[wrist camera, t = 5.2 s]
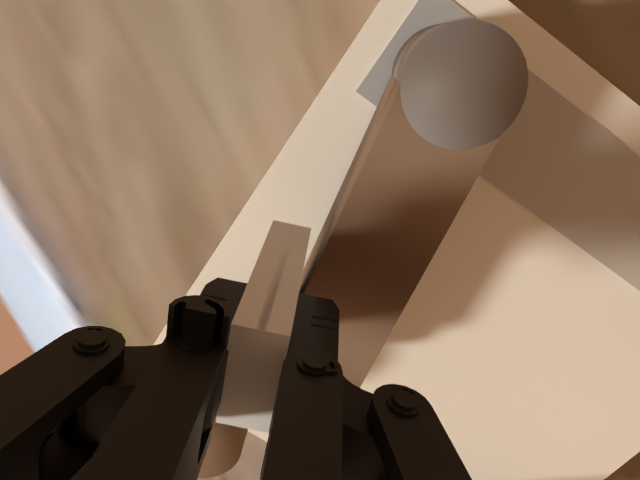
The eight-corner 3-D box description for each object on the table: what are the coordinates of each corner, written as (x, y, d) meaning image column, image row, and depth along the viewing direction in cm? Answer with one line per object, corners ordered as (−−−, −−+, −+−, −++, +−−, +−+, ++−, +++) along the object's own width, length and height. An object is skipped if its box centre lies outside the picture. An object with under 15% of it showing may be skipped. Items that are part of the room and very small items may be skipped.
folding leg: (412, 4, 16) (429, -6, 12) (513, 51, 17) (560, 55, 13) (273, 317, 21) (253, 382, 17) (353, 349, 21) (352, 420, 17)
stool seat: (416, -54, 18) (451, -111, 11) (802, 254, 21) (1020, 361, 14) (158, 336, 25) (80, 453, 18) (477, 525, 28) (517, 688, 21)
